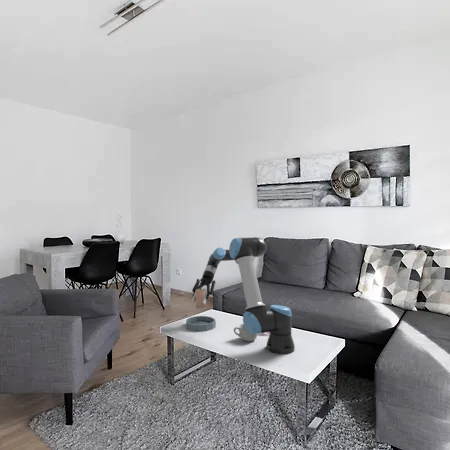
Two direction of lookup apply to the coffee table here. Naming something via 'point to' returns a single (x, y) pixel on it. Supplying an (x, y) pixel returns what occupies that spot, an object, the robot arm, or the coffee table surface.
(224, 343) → the coffee table surface
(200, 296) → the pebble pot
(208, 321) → the bowl
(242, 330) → the teacup
